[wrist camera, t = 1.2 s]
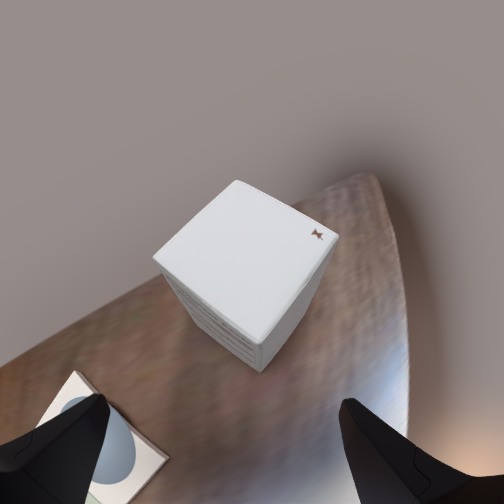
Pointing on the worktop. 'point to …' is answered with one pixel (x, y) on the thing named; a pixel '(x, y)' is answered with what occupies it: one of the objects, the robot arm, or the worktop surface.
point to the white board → (112, 450)
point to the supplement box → (247, 270)
